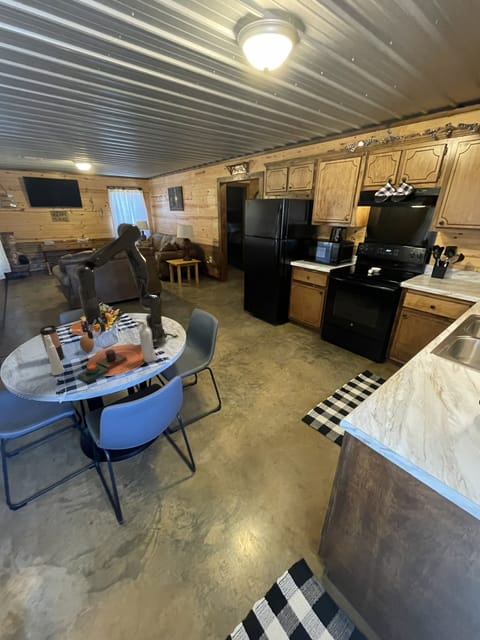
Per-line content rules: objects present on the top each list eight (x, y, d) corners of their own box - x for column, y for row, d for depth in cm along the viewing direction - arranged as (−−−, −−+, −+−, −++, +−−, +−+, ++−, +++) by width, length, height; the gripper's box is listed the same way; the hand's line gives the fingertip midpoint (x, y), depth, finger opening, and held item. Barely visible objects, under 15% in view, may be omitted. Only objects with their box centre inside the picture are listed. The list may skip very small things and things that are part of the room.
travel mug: (67, 357, 156) (58, 326, 148) (55, 363, 149) (45, 331, 142) (58, 354, 158) (49, 324, 151) (46, 361, 152) (35, 330, 144)
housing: (98, 367, 145) (96, 361, 144) (108, 372, 141) (106, 366, 140) (78, 377, 137) (76, 371, 135) (88, 383, 132) (87, 376, 131)
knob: (112, 356, 152) (110, 348, 150) (118, 358, 150) (116, 350, 148) (104, 360, 148) (102, 351, 146) (110, 362, 146) (108, 354, 144)
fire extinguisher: (153, 365, 148) (147, 324, 138) (138, 359, 153) (131, 320, 143) (162, 359, 153) (156, 320, 143) (147, 354, 159) (141, 316, 149)
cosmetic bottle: (53, 370, 143) (41, 334, 134) (65, 368, 145) (54, 332, 136) (50, 376, 138) (38, 339, 129) (64, 373, 140) (52, 337, 131)
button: (93, 366, 140) (92, 363, 139) (97, 368, 138) (96, 365, 137) (86, 370, 137) (86, 367, 136) (91, 372, 135) (90, 369, 135)
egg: (79, 352, 161) (74, 336, 157) (90, 347, 167) (86, 331, 163) (87, 355, 158) (83, 339, 154) (98, 349, 164) (94, 334, 160)
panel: (115, 356, 157) (115, 352, 156) (127, 360, 152) (126, 356, 151) (97, 365, 147) (96, 361, 146) (108, 370, 143) (107, 366, 142)
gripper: (85, 311, 123) (93, 341, 130) (107, 301, 136) (113, 330, 142) (72, 310, 125) (80, 340, 131) (94, 300, 138) (101, 328, 144)
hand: (97, 334), depth 137 cm, fingers open, 8 cm apart
